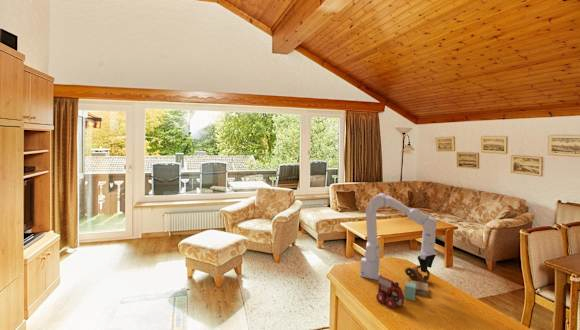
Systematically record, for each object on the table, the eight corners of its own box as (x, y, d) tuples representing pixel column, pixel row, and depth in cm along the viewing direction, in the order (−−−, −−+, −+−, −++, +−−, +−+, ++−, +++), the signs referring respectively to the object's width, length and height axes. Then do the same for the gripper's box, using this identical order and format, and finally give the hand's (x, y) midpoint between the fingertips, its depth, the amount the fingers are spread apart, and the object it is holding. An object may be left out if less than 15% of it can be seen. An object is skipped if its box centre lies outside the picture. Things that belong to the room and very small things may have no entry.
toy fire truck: (397, 312, 129) (399, 288, 128) (373, 299, 138) (374, 277, 138) (406, 306, 133) (408, 283, 132) (381, 294, 143) (383, 273, 142)
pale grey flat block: (409, 293, 146) (410, 287, 145) (409, 286, 153) (410, 280, 153) (428, 297, 143) (428, 291, 142) (427, 289, 150) (427, 283, 150)
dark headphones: (420, 275, 166) (428, 265, 161) (425, 290, 158) (434, 280, 153) (400, 269, 165) (407, 259, 161) (403, 284, 157) (411, 274, 153)
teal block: (404, 298, 140) (405, 285, 140) (404, 293, 144) (405, 281, 144) (414, 300, 138) (415, 287, 138) (414, 296, 143) (415, 283, 142)
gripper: (432, 248, 139) (430, 276, 140) (441, 240, 150) (439, 267, 151) (416, 244, 144) (414, 272, 145) (426, 237, 155) (424, 263, 156)
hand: (426, 269), depth 148 cm, fingers open, 7 cm apart
